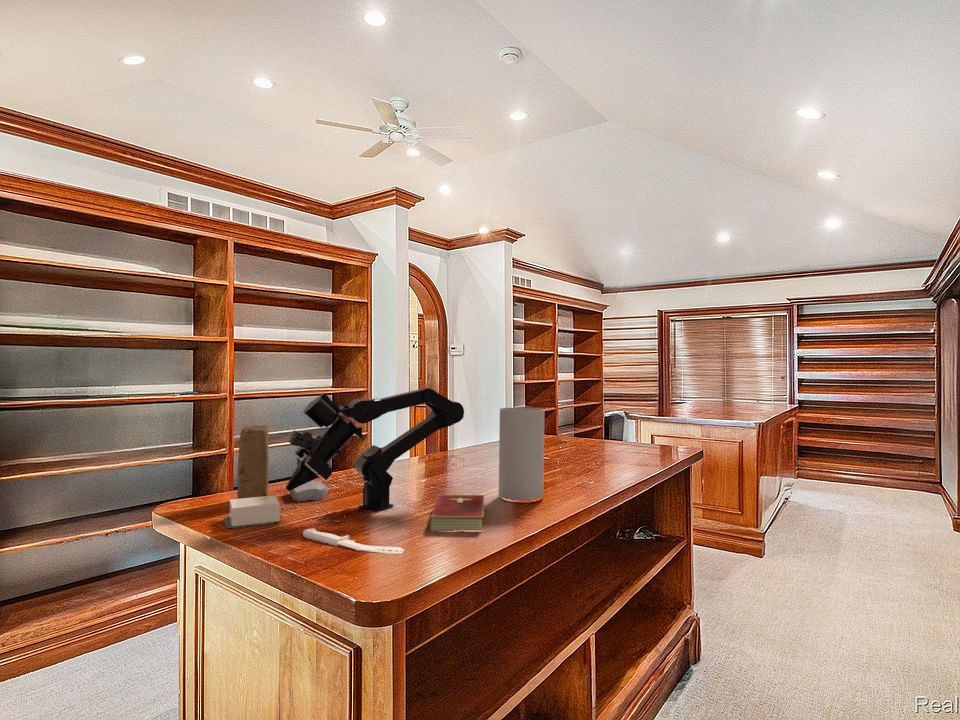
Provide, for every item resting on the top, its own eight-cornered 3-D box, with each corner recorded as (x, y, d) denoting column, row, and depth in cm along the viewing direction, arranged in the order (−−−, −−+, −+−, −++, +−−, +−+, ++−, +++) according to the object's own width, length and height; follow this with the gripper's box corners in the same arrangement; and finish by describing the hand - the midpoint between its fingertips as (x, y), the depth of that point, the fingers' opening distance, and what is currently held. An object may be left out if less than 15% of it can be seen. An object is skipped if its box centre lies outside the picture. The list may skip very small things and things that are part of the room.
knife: (439, 550, 107) (415, 561, 100) (439, 559, 106) (415, 570, 100) (328, 522, 122) (301, 529, 115) (328, 529, 122) (300, 537, 115)
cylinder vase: (498, 493, 159) (499, 407, 159) (541, 494, 158) (542, 407, 159) (498, 503, 146) (499, 410, 147) (545, 504, 146) (546, 411, 146)
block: (267, 505, 141) (268, 428, 142) (235, 507, 139) (237, 428, 139) (269, 496, 151) (270, 424, 152) (240, 497, 149) (241, 424, 149)
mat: (269, 513, 133) (269, 512, 133) (274, 523, 125) (274, 522, 125) (224, 518, 128) (224, 516, 128) (225, 529, 120) (226, 527, 120)
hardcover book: (429, 534, 120) (429, 515, 120) (437, 509, 141) (437, 493, 141) (483, 535, 120) (483, 515, 120) (483, 510, 141) (483, 494, 141)
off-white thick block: (274, 495, 133) (229, 499, 129) (279, 503, 125) (232, 508, 121) (274, 512, 133) (229, 516, 129) (279, 521, 125) (231, 526, 121)
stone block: (321, 497, 159) (286, 493, 155) (325, 481, 160) (290, 476, 155) (329, 508, 149) (291, 504, 144) (333, 490, 149) (295, 486, 145)
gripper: (302, 415, 141) (257, 461, 136) (317, 421, 125) (265, 475, 120) (333, 443, 145) (290, 489, 140) (351, 453, 128) (303, 506, 123)
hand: (287, 489), depth 130 cm, fingers closed
